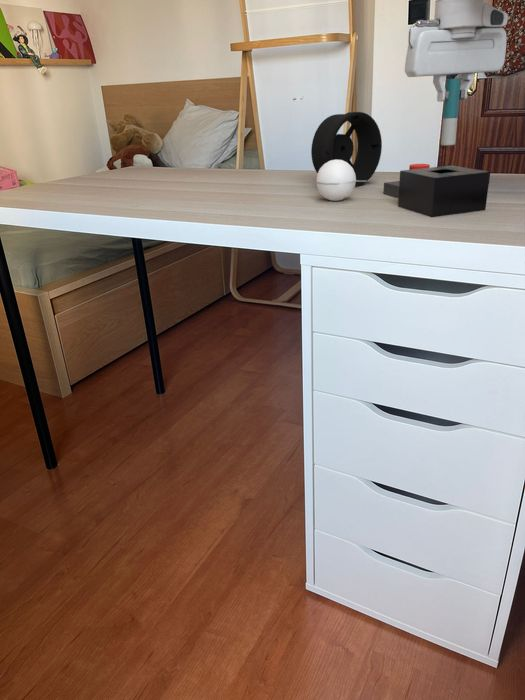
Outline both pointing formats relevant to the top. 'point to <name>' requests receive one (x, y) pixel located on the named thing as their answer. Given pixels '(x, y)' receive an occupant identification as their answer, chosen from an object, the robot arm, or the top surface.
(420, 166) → the power button
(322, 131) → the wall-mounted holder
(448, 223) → the top surface
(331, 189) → the seamed sphere
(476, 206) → the black block with hole
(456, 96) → the teal and grey cylinder
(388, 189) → the block
